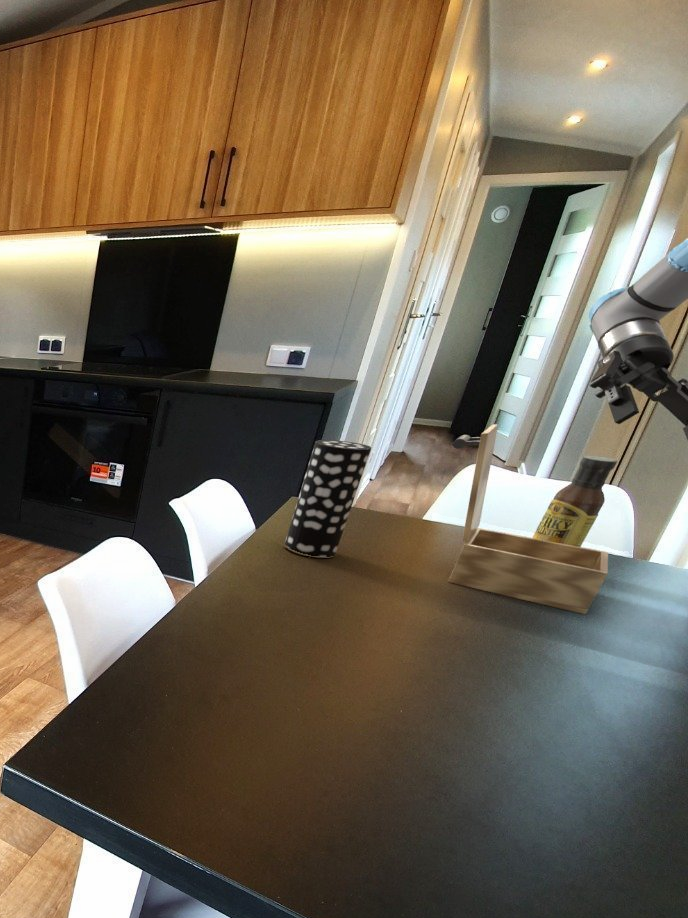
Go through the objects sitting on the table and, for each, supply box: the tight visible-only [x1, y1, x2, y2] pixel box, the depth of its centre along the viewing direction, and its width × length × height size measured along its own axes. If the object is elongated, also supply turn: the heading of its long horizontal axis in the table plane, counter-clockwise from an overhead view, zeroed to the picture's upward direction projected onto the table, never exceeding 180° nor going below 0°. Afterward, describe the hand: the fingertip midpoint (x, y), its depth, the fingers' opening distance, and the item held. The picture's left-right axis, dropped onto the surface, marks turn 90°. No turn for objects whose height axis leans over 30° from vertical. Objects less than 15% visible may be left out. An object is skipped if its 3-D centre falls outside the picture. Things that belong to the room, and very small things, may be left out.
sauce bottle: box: [532, 455, 618, 547], centre depth 110 cm, size 6×6×20 cm
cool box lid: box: [452, 423, 499, 543], centre depth 107 cm, size 17×14×4 cm
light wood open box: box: [447, 527, 609, 615], centre depth 105 cm, size 17×14×7 cm
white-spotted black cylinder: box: [284, 439, 372, 557], centre depth 116 cm, size 8×8×20 cm
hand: (666, 434), depth 101 cm, fingers open, 13 cm apart
